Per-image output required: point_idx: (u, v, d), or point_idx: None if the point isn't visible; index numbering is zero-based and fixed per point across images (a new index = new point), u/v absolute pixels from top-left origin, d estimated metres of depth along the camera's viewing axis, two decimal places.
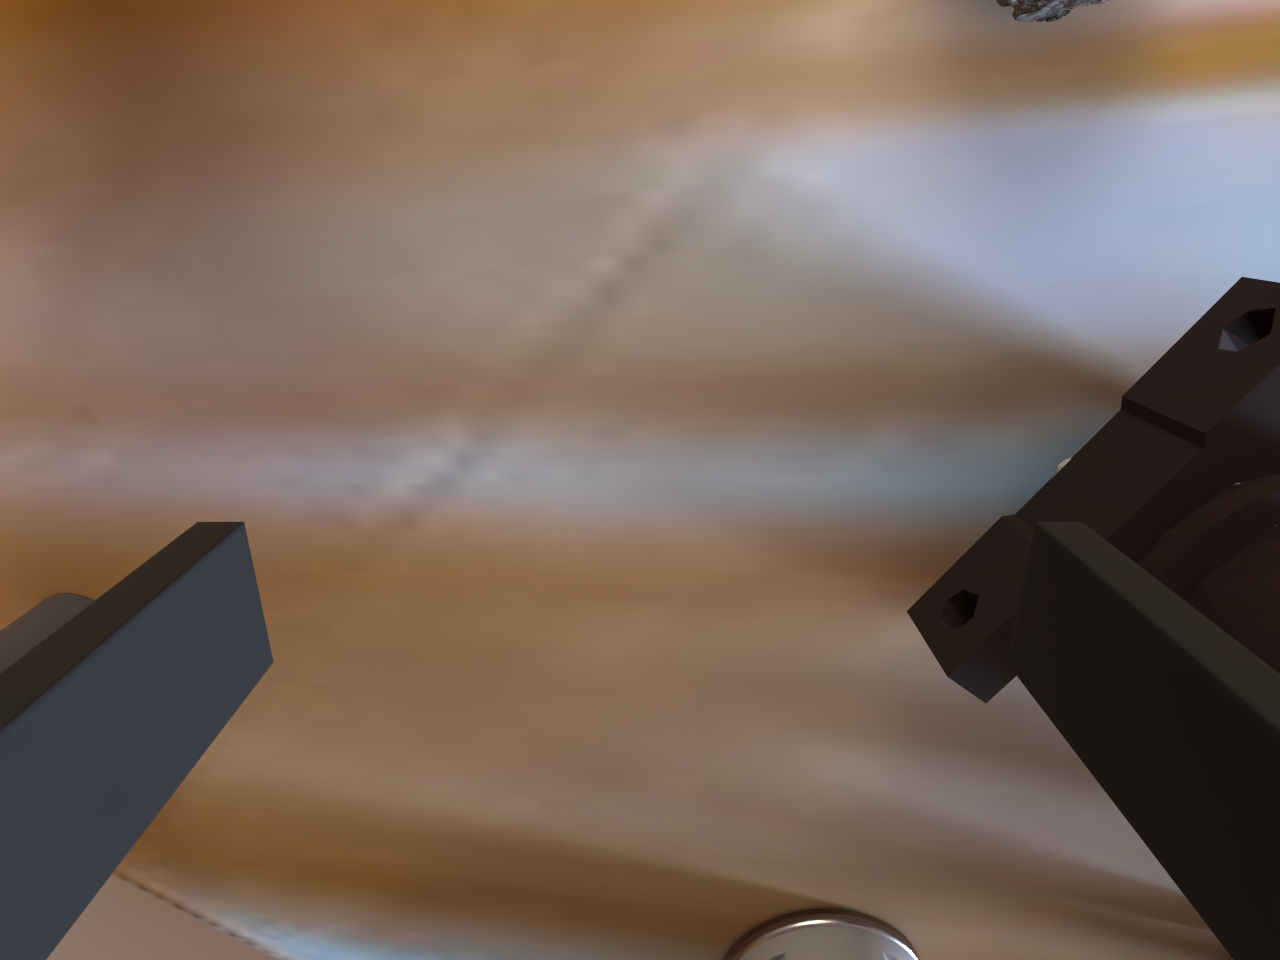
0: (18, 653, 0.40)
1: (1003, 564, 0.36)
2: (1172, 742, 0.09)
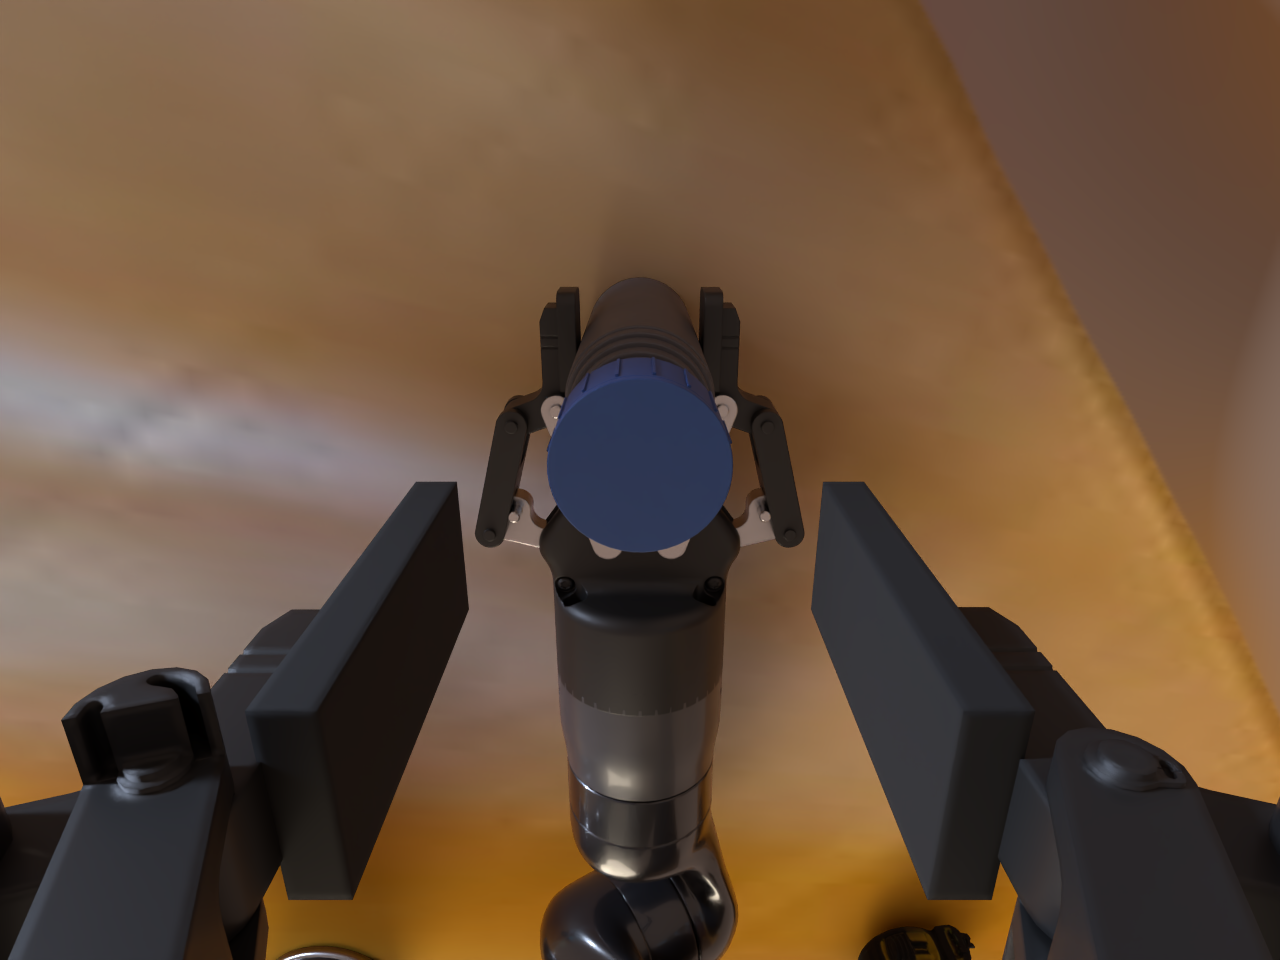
0: None
1: None
2: (876, 657, 0.11)
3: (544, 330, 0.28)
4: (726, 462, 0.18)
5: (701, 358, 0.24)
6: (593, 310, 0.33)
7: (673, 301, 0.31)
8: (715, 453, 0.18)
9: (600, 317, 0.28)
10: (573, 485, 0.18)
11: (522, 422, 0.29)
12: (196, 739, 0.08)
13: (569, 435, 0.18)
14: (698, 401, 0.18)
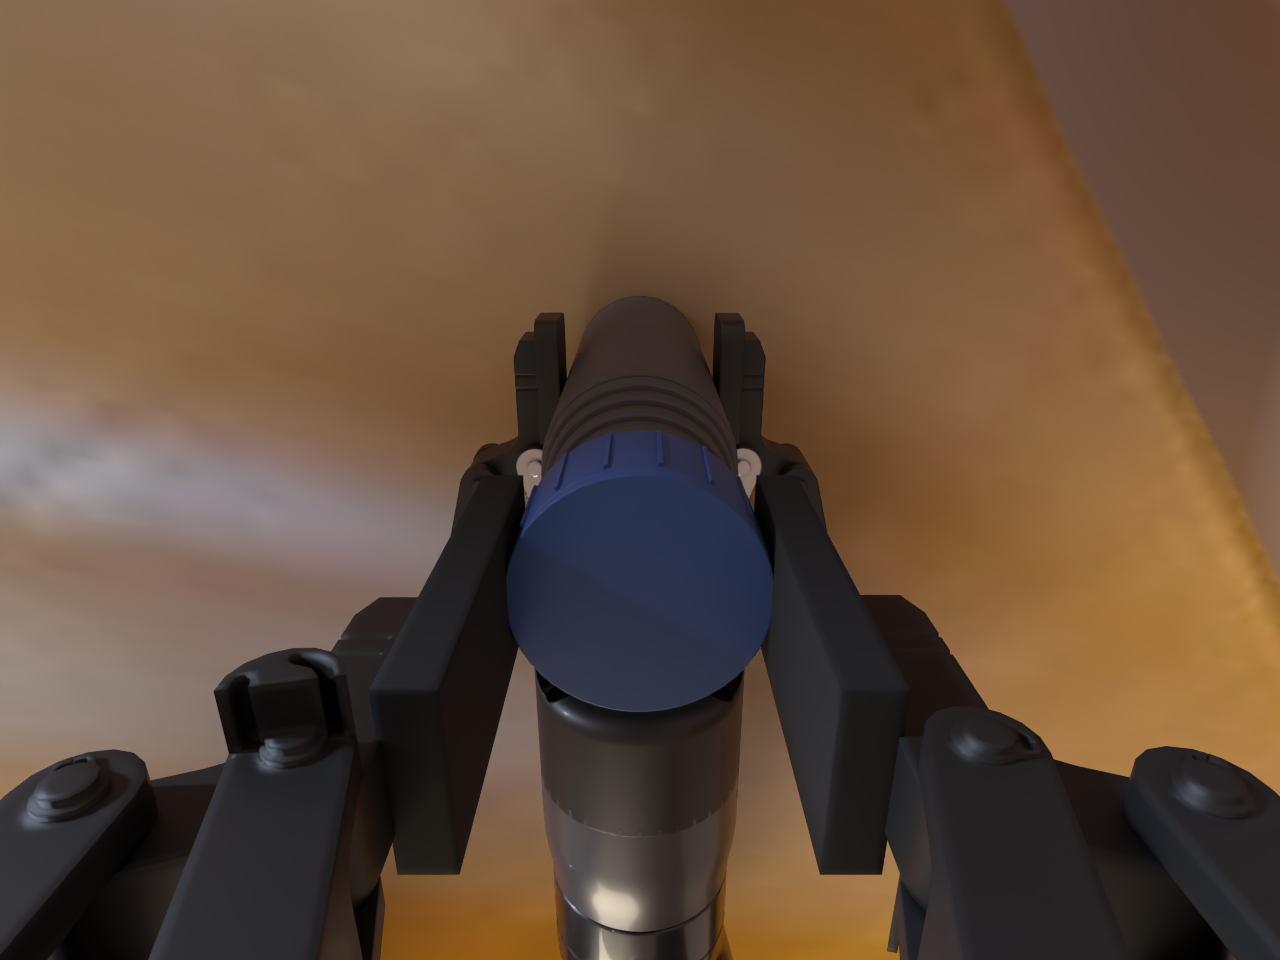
0: None
1: None
2: (789, 642, 0.11)
3: (519, 368, 0.23)
4: (766, 591, 0.13)
5: (721, 415, 0.18)
6: (583, 337, 0.28)
7: (680, 328, 0.25)
8: (750, 579, 0.12)
9: (589, 353, 0.22)
10: (543, 622, 0.13)
11: None
12: (330, 717, 0.08)
13: (536, 554, 0.12)
14: (726, 507, 0.12)
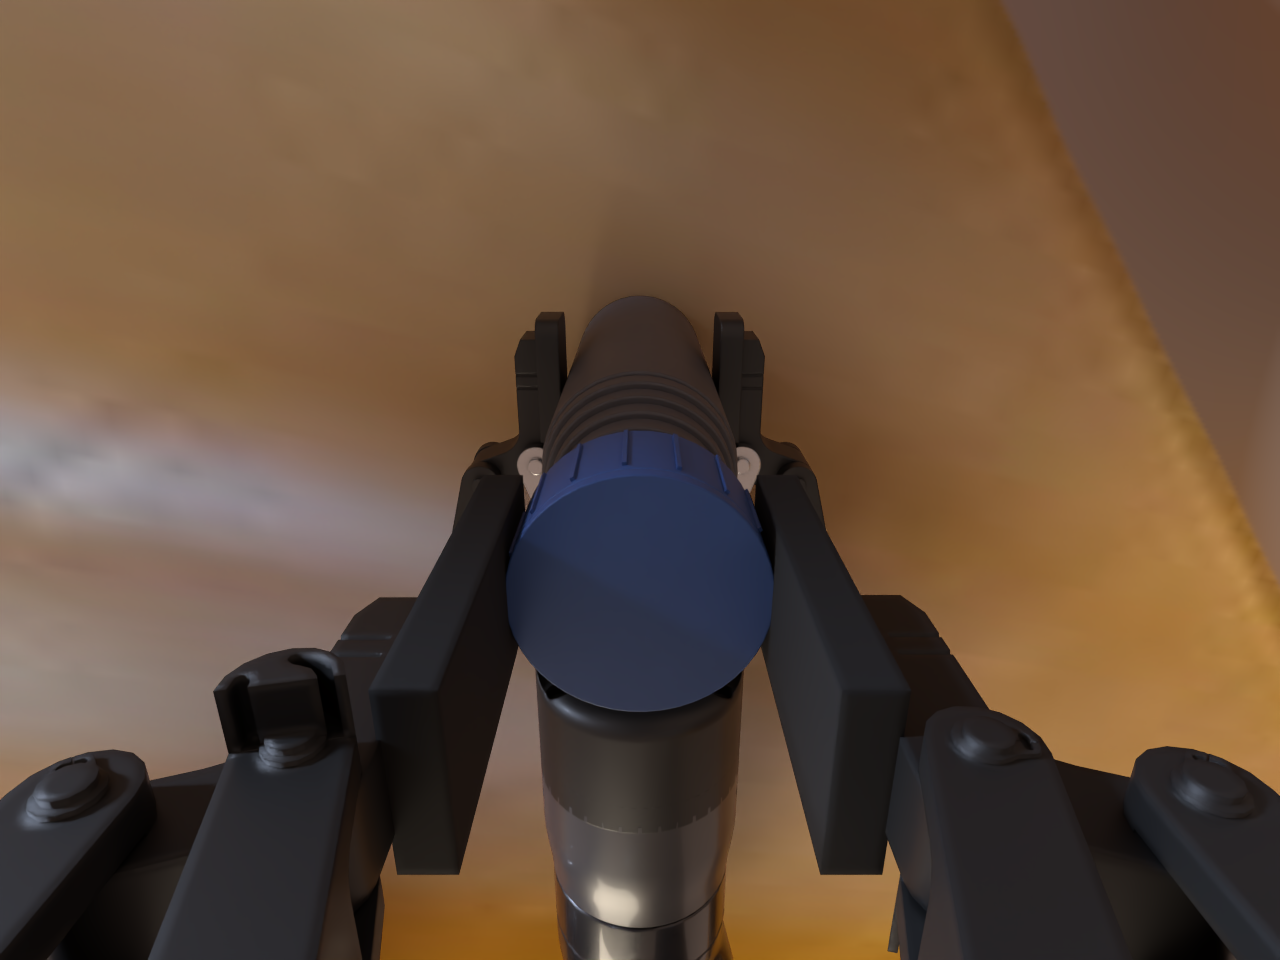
0: None
1: None
2: (789, 643, 0.11)
3: (520, 367, 0.23)
4: (551, 515, 0.12)
5: (720, 413, 0.18)
6: (583, 336, 0.28)
7: (680, 328, 0.25)
8: (551, 536, 0.12)
9: (590, 352, 0.22)
10: (716, 654, 0.13)
11: None
12: (329, 717, 0.08)
13: (658, 693, 0.13)
14: (507, 599, 0.13)
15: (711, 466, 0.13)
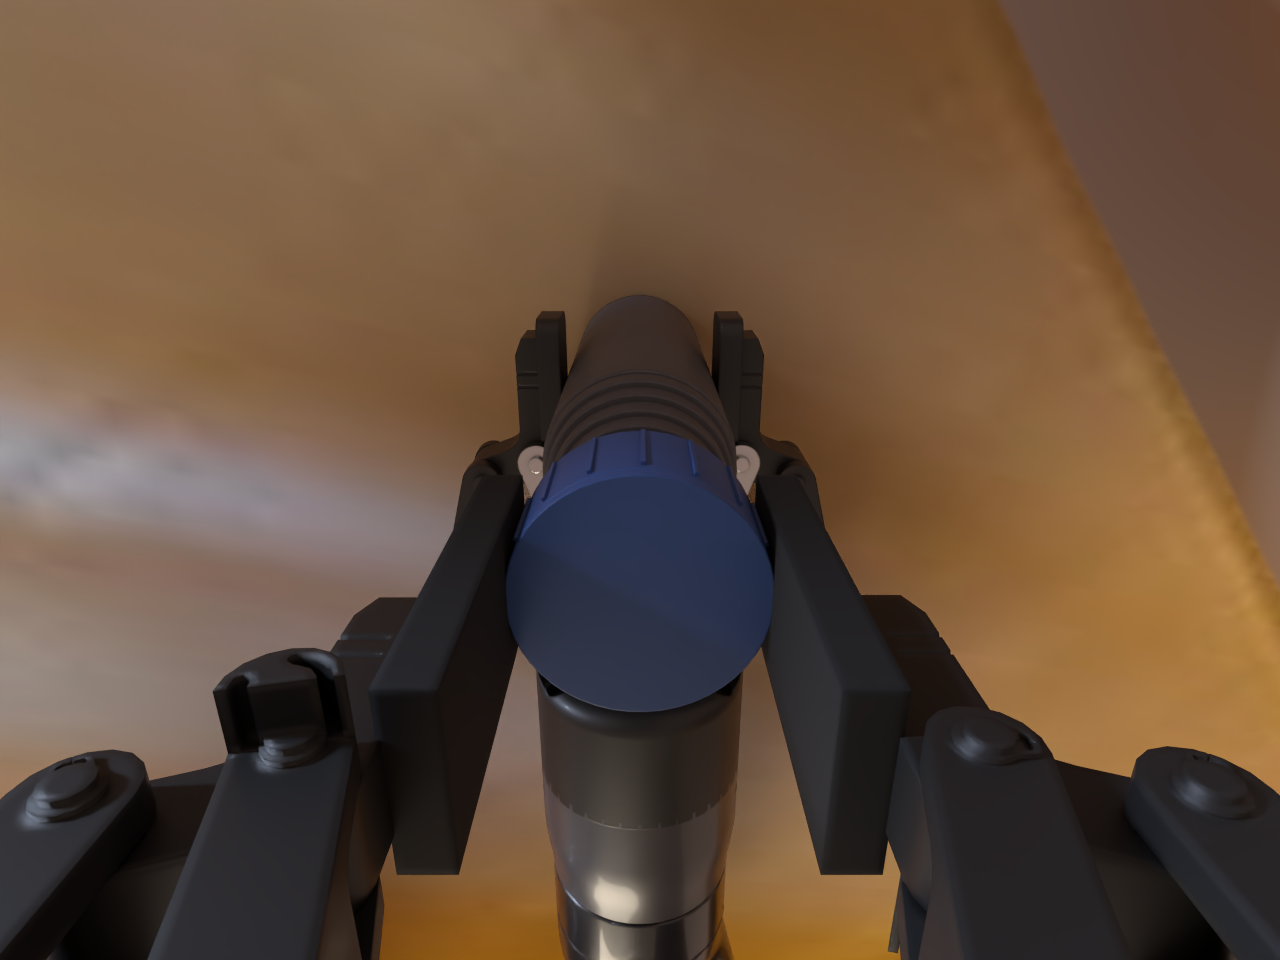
0: None
1: None
2: (790, 643, 0.11)
3: (521, 365, 0.23)
4: (618, 703, 0.13)
5: (719, 411, 0.18)
6: (584, 335, 0.28)
7: (680, 327, 0.25)
8: (635, 694, 0.13)
9: (590, 351, 0.22)
10: (641, 508, 0.12)
11: None
12: (329, 717, 0.08)
13: (720, 525, 0.12)
14: (713, 690, 0.13)
15: None
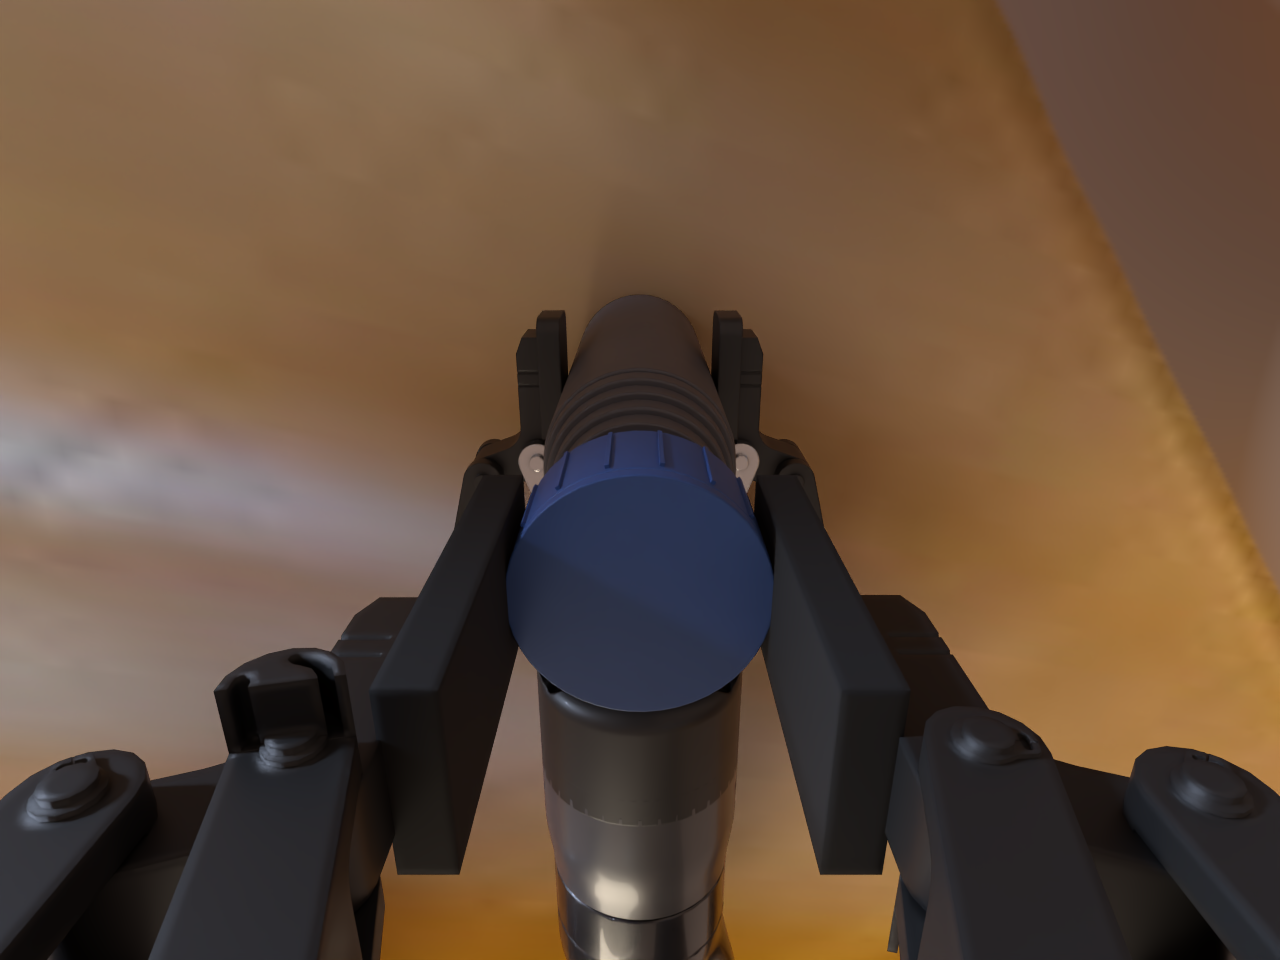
0: None
1: None
2: (789, 643, 0.11)
3: (522, 364, 0.23)
4: (755, 549, 0.12)
5: (719, 409, 0.18)
6: (584, 335, 0.28)
7: (680, 326, 0.26)
8: (734, 543, 0.12)
9: (590, 350, 0.22)
10: (560, 652, 0.13)
11: None
12: (329, 717, 0.08)
13: (526, 592, 0.13)
14: (679, 484, 0.12)
15: None
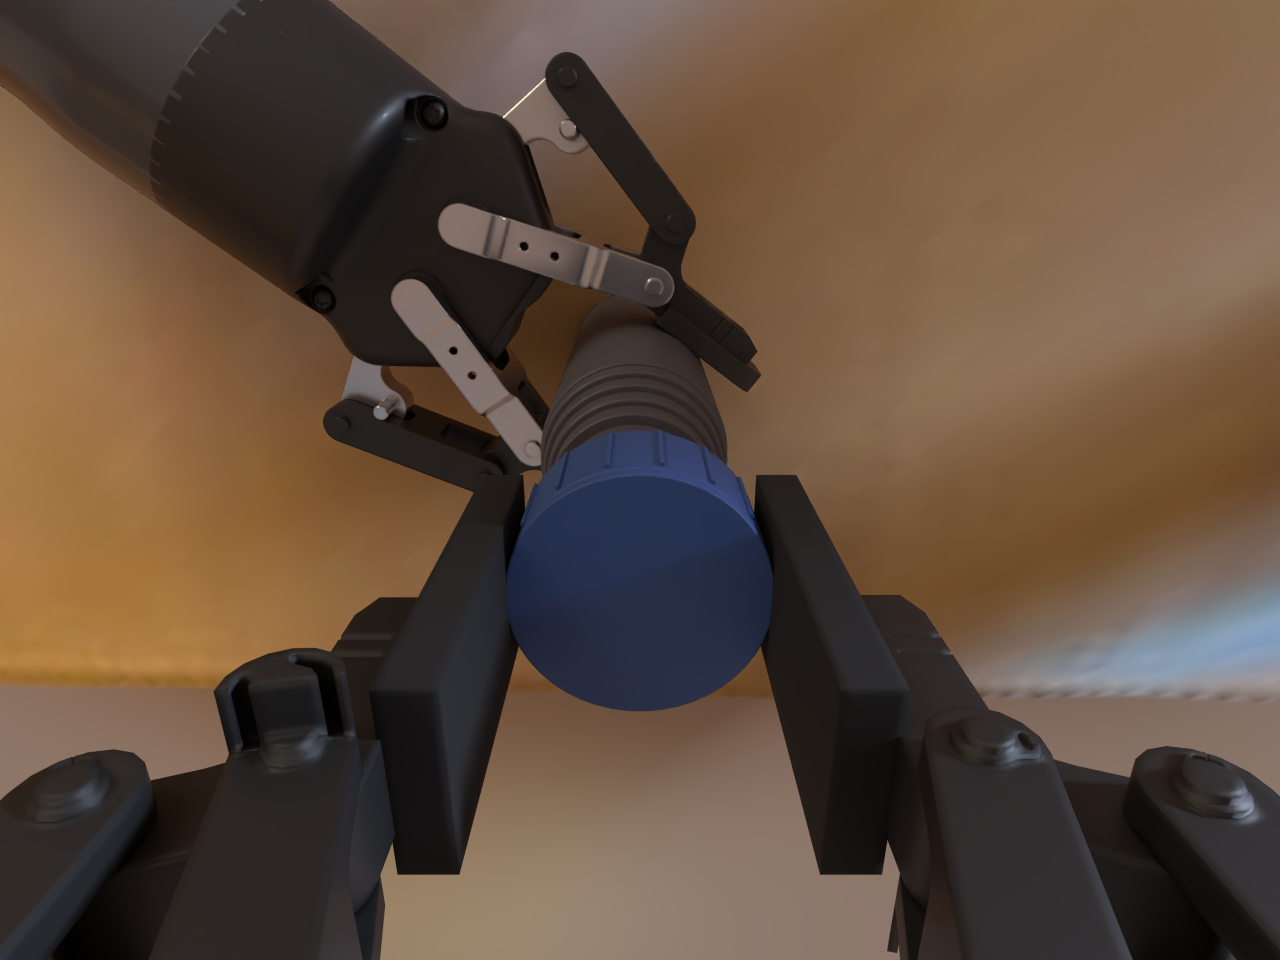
0: (625, 314, 0.25)
1: None
2: (789, 643, 0.11)
3: (737, 334, 0.23)
4: (755, 549, 0.12)
5: None
6: None
7: None
8: (734, 543, 0.12)
9: None
10: (561, 651, 0.13)
11: (669, 239, 0.22)
12: (328, 718, 0.08)
13: (526, 591, 0.13)
14: (679, 484, 0.12)
15: None
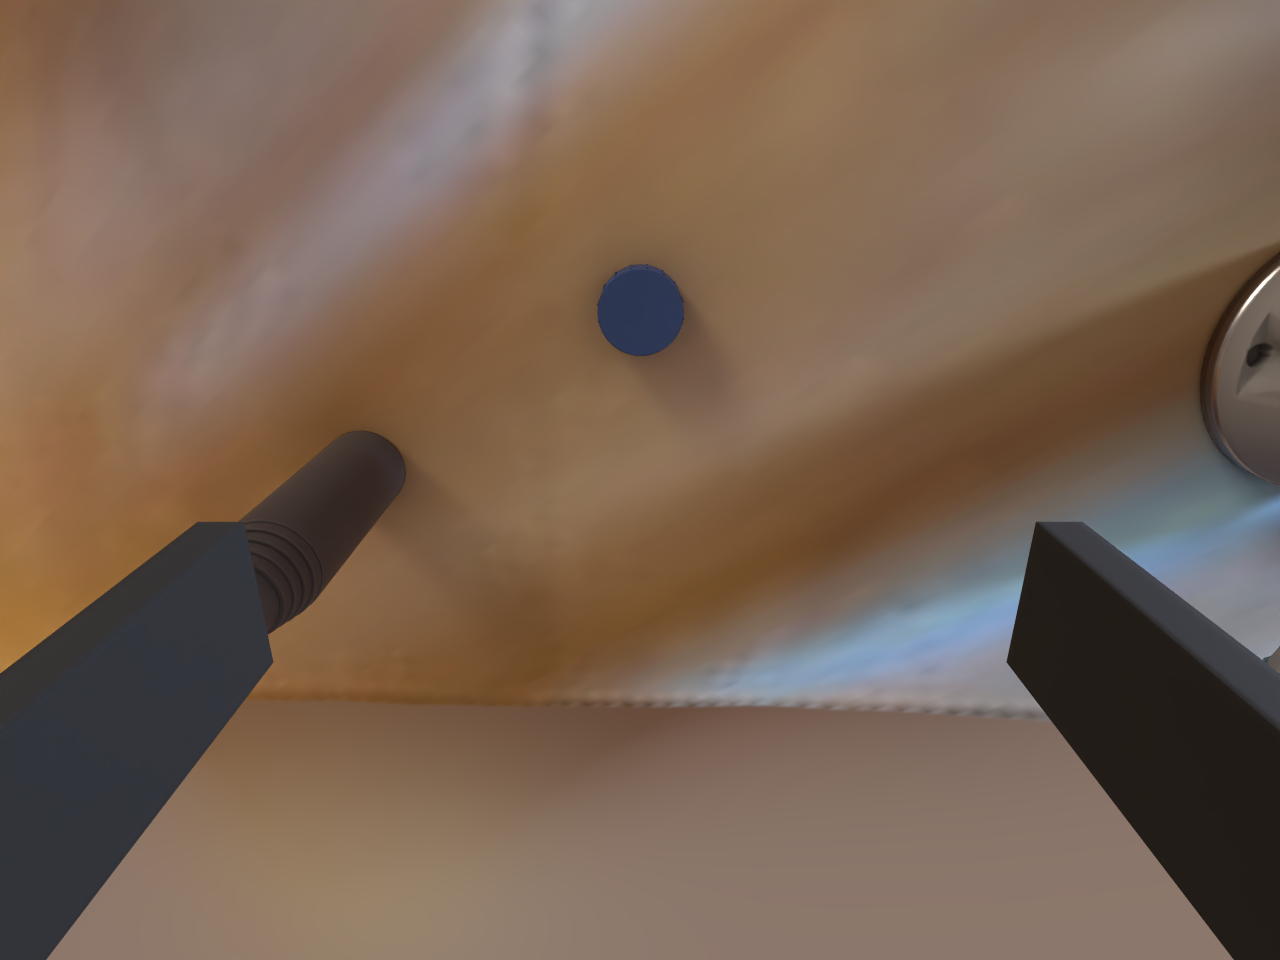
0: (317, 463, 0.39)
1: None
2: (1173, 742, 0.09)
3: None
4: (676, 294, 0.39)
5: None
6: (388, 468, 0.43)
7: None
8: (669, 292, 0.39)
9: (357, 527, 0.38)
10: (615, 332, 0.40)
11: None
12: None
13: (604, 310, 0.40)
14: (652, 272, 0.39)
15: None
